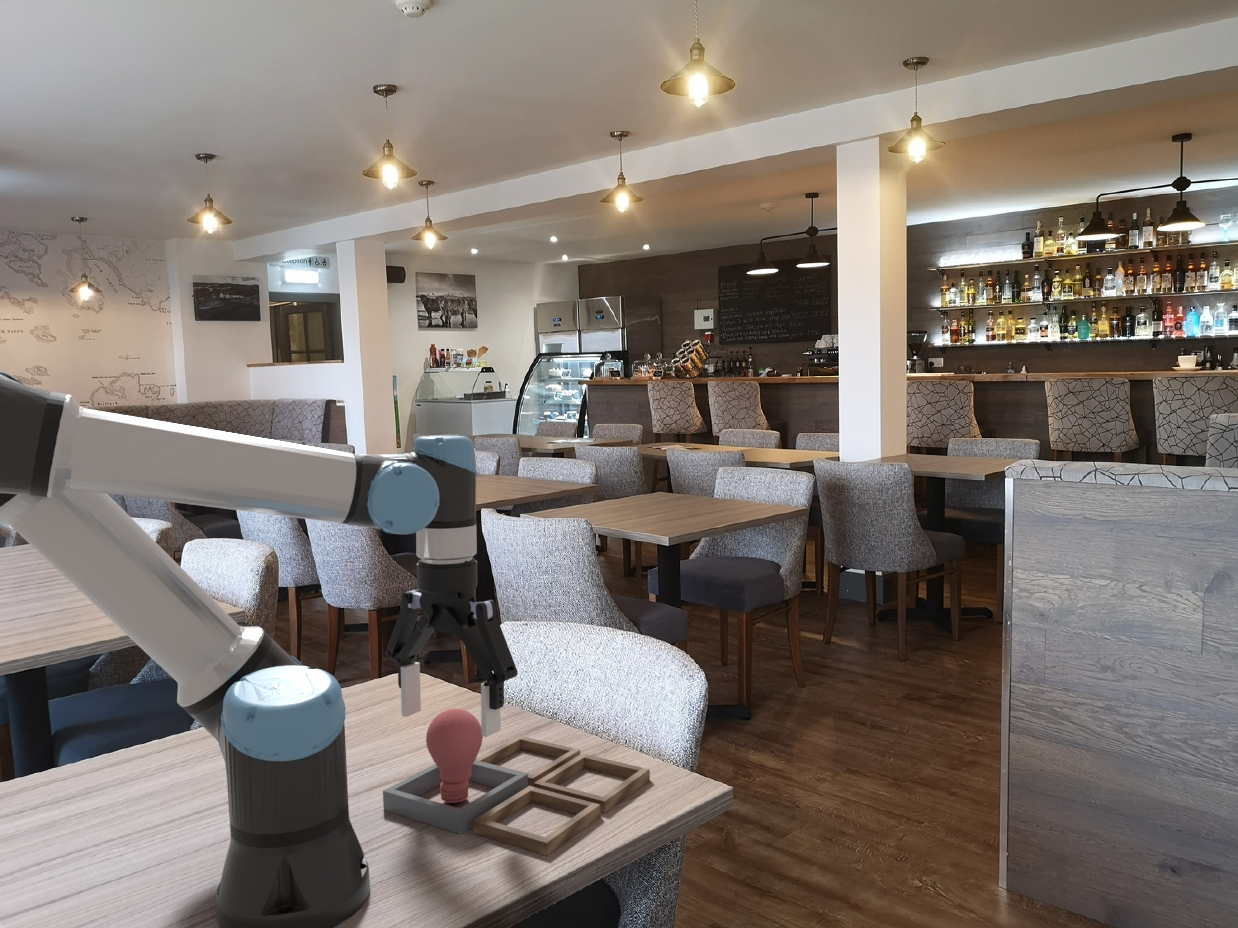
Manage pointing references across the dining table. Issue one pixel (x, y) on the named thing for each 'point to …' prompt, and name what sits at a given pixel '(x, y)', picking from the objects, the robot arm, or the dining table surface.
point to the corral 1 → (457, 820)
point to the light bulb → (454, 750)
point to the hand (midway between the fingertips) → (450, 723)
